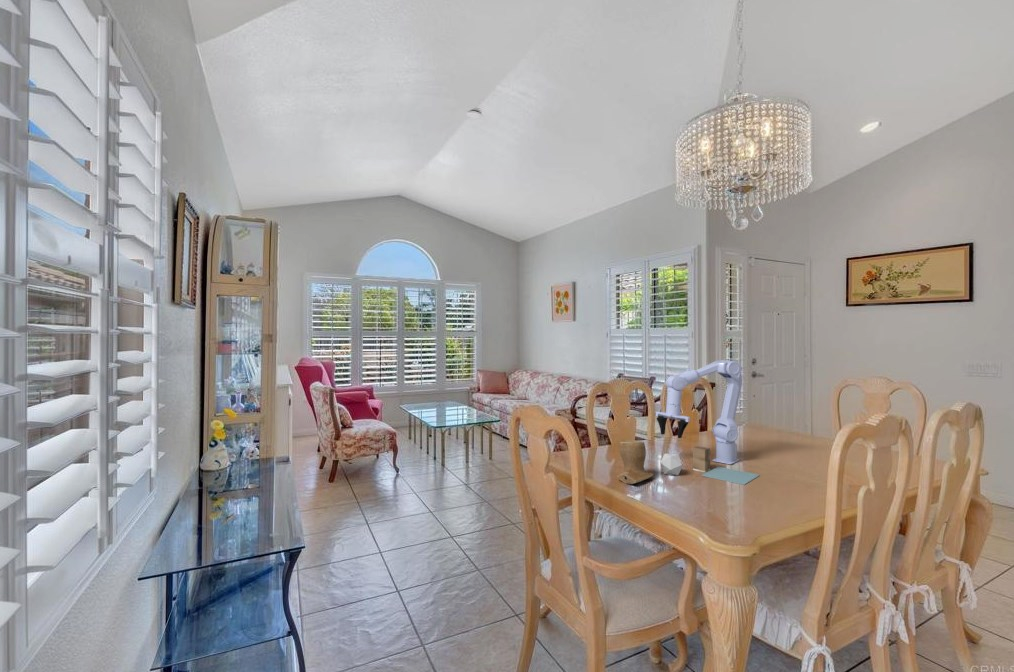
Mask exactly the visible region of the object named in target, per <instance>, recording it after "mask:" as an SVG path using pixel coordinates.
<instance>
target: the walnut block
mask: <svg viewBox="0 0 1014 672" xmlns="http://www.w3.org/2000/svg"><path fill="white" fill-rule="evenodd" d="M692 470H693V471H697V472H701V473H706V472H708V471H710V470H711V447H707V446H702V445H696V446H694V447H692Z"/></svg>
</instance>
